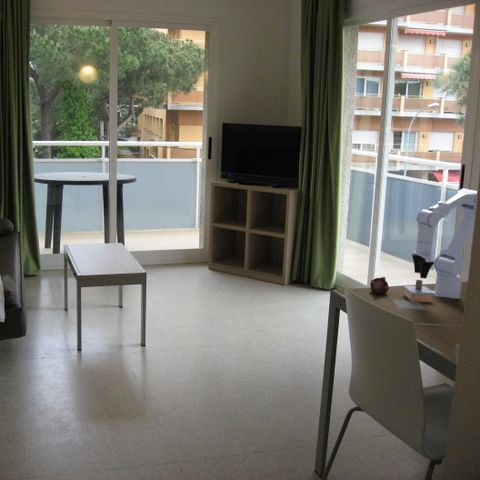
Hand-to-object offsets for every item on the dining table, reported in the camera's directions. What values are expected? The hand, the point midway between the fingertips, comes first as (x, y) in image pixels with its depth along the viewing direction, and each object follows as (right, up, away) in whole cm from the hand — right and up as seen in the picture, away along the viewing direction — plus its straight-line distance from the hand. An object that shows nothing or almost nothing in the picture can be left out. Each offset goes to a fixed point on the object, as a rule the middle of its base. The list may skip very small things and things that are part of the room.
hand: (420, 275), depth 265 cm
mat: (-6, -11, -7) cm, 15 cm away
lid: (-1, -6, +1) cm, 6 cm away
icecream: (-15, -8, +7) cm, 18 cm away
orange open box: (-1, -10, +2) cm, 10 cm away
